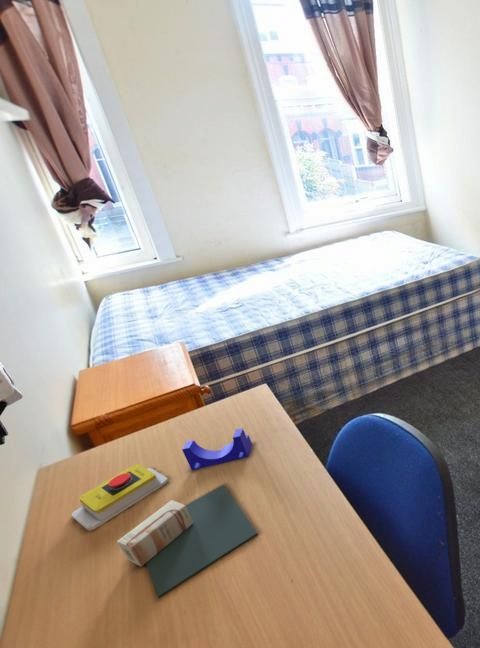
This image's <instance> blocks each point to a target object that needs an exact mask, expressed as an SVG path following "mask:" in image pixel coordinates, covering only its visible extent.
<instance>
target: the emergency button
mask: <svg viewBox="0 0 480 648" xmlns="http://www.w3.org/2000/svg"><path fill="white" fill-rule="evenodd" d="M168 482H169V479H168V478H167V477H166V476H165V475H163V474H162V473H160V472H159V471H156V470H155V469H153V468H151V467H148V468H146V467H145V466H143V465H141V464H140V463H136V464H134V465H132V466H130V467H128V468H127V469H125V470H123V471H121V472H119V473H117V474H115V475H114V476H113V477H111V478H108V479H107V480H105V481H103V482H102V483H100V484H99V485H97V486H95V487H94V488H92V489H90V490H88V491H86V492H85V493H83V494H82V495H80V496H79V497H78V499H79V502H80V503H81V505H82V506H81V507H79V508H77V509H76V510H74V511H73V512H72V513H71V517H72V519H73V520H75V521H76V522H77V523H78V524H79V525H81V526H82V527H83V528H84V529H85V530H87V531H89V532H90V531H94V530H95V529H97V528H98V527H100V526H102V525H104V524H105V523H107V522H108V521H109V520H111V519H113V518H115V517H116V516H118V515H119V514H121V513H122V512H124V511H125V510H127V509H128V508H130V507H132V506H133V505H135V504H137V503H138V502H140V501H141V500H143V499H144V498H146V497H147V496H149V495H151V494H153V493H154V492H156V491H157V490H158V489H160V488H161V487H163V486H165V485H166V484H167V483H168Z"/></svg>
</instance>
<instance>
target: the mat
mask: <svg viewBox="0 0 480 648" xmlns="http://www.w3.org/2000/svg"><path fill="white" fill-rule="evenodd" d="M185 506H186V508H187V510H188V512H189V514H190V516H191V518H192V520H193V522H194V523H193V524H192V525H191V526H190V527H189V528H187V529H186V530H185V531H184V532H183V533H181V534H180V535H179V536H178V537H177V538H175V539H174V540H173V541H172V542H171V543H169V544H168V545H167V546H166V547H164V548H163V549H162V550H161V551H160V552H159V553H157V554H156V555H155V556H154V557H153V558H151V559H150V560H149V561H148V562H146V563H145V565H146V567H147V570H148V573H149V577H150V578H151V581H152V584H153V586H154V589H155V592H156V595H157V597H158V598H161V597H162V596H164V595H166V594H167V593H169V592H170V591H172V590H173V589H175V588H177V587H178V586H180V585H181V584H183V583H185V582H186V581H187V580H189V579H191V578H192V577H194V576H196V575H197V574H198V573H200V572H202V571H203V570H205V569H206V568H208V567H210V566H211V565H213V564H214V563H216V562H218V561H219V560H221V559H222V558H223V557H226V555H228V554H230V553H231V552H233V551H234V550H236V549H238V548H239V547H240V546H242V545H244V544H245V543H247V542H248V541H250V540H251V539H254V538H255V537H257V536H258V532H257V531H256V529H255V527H254V526H253V525H252V523H251V522H250V520H249V519H248V517H247V516H246V515H245V513H244V512H243V510H242V509H241V507H240V506H239V505H238V503H237V502H236V500H235V499H234V498H233V496H232V495H231V492H229V490H228V489H227V487H226V486H225V485H224V484H222V485H220V486H218V487H217V488H215V489H213V490H211V491H209V492H207V493H206V494H204V495H202V496H200V497H198V498H197V499H195V500H193V501H190V502H189V503H187V504H186V505H185Z"/></svg>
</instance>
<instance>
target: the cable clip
mask: <svg viewBox="0 0 480 648" xmlns="http://www.w3.org/2000/svg"><path fill="white" fill-rule="evenodd" d="M232 440H233V441H232V442H230V443H228V444H226V445H223V447H222V448H221V450H210V449H206V448H204V447H201V446H200V445H199V444H198V443H197V442H196V441H195V439H191V440H186V442H185V443H184V445H183V447H182V449H181V451H182V453H183V454H184V457H185V459H186V461H187V463H188V465H189V467H190V469H191V471H194V470H198V469H202V468H206V467H211V466H215V465H219V464H223V463H227V462H231V461H237V460H239V459H244V458H248V457H249V455H250V452H251V451H252V448H253V442H252V440H251V437H250V435H249V434H246V432H245V430H244V428H239V429H235V432H234V433H233V436H232Z"/></svg>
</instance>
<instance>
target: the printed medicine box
mask: <svg viewBox="0 0 480 648" xmlns="http://www.w3.org/2000/svg"><path fill="white" fill-rule="evenodd" d="M193 523H194V522H193V520H192V518H191V516H190V514H189V512H188V510H187V508H186V505H185V504H183V503H180V502H178V501H176V500H173V499H171V500H170V501H168V502H167V503H165V504H164V505H163V506H162V507H160V508H159V509H158V510H156V511H155V512H153V514H151V515H150V516H148V517H147V518H146V519H144V520H143V521H142V522H141V523H139V524H138V525H136V526H135V527H134V528H133V529H131V530H130V531H129V532H127V533H125V535H124V536H121V538H119V539H118V540H117V541H116V543H117V545H118V547H119V548H120V550H121V551H122V554H123V555H124V557H125V558H126V560H127V561H129V562H130V563H133V564H134V565H137V566H139V567H143V566H144V565H146V562H148V561H149V560H150V559H151V558H153V557H154V556H155V555H156V554H157V553H159V552H160V551H161V550H162V549H163V548H164V547H166V546H167V545H168V544H169V543H171V542H172V541H173V540H174V539H175V538H177V537H178V536H179V535H180V534H181V533H183V532H184V531H185V530H186V529H187V528H189V527H190V526H191V525H192V524H193Z"/></svg>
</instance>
